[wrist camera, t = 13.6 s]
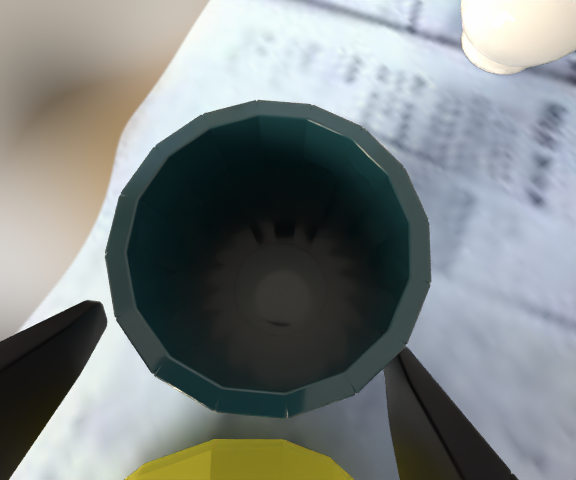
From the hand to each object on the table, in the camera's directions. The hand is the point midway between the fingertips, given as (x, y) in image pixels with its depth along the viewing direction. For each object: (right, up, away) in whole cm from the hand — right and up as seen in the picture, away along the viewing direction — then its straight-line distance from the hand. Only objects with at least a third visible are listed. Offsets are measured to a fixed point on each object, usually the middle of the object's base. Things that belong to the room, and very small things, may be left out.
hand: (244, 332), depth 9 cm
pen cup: (+1, 0, +10) cm, 10 cm away
